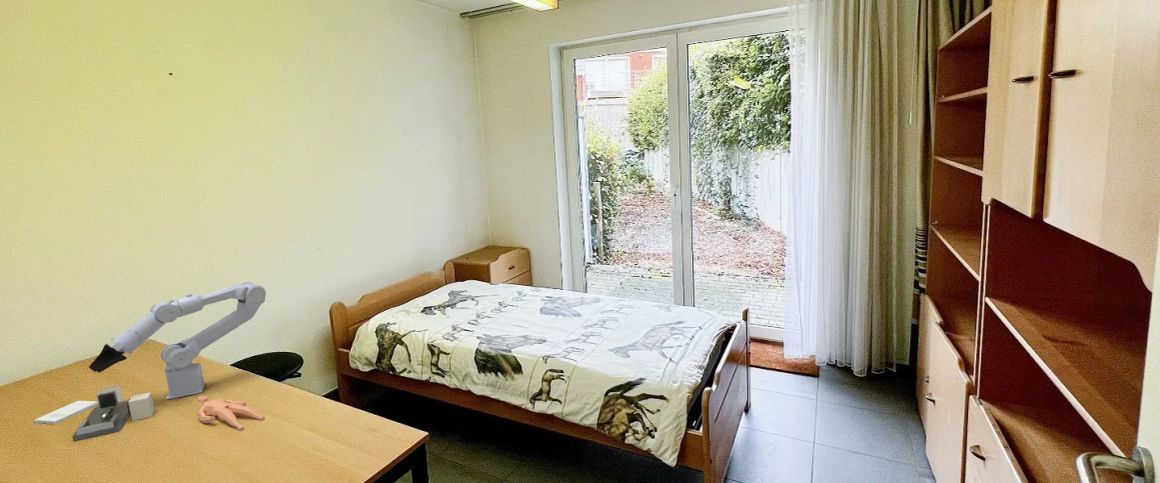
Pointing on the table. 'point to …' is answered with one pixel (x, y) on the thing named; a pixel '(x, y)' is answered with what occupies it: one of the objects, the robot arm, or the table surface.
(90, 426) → the grey metal base
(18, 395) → the table surface
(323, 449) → the table surface
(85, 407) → the external hard drive
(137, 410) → the white cube grey lid
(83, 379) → the table surface
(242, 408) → the male figurine
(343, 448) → the table surface
